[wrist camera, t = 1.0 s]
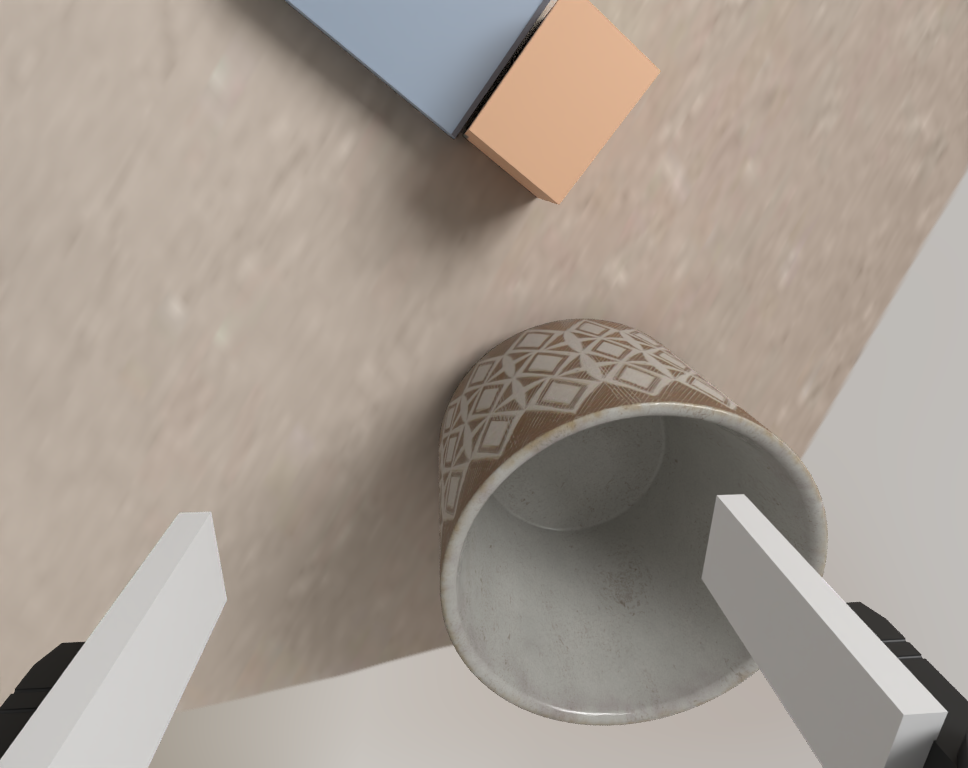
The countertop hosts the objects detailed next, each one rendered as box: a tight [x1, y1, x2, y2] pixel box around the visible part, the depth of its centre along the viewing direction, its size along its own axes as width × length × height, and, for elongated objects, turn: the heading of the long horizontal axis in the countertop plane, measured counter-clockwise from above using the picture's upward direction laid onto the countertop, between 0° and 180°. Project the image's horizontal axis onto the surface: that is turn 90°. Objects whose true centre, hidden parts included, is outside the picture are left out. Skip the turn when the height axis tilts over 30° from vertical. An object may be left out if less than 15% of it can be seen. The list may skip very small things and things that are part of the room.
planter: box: [439, 319, 828, 725], centre depth 36 cm, size 19×19×16 cm
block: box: [463, 0, 661, 205], centre depth 32 cm, size 6×8×7 cm
